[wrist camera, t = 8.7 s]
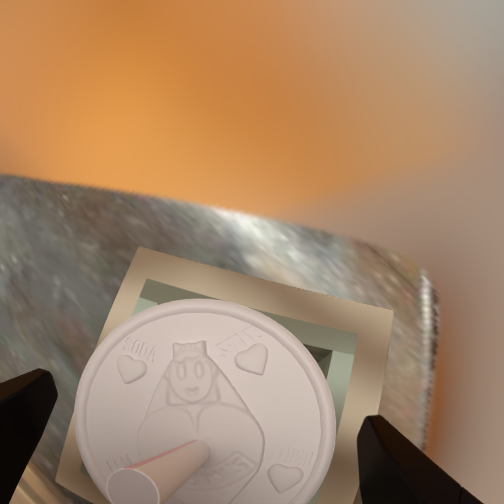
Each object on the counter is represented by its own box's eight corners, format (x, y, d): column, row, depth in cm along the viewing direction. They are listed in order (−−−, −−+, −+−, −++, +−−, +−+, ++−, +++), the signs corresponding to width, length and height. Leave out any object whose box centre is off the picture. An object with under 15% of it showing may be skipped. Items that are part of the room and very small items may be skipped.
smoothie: (172, 479, 13) (-21, 589, 1) (159, 365, 16) (-32, 212, 4) (297, 468, 13) (451, 601, 1) (279, 353, 17) (363, 153, 4)
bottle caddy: (324, 561, 11) (344, 594, 7) (63, 479, 13) (20, 487, 9) (387, 316, 18) (419, 287, 15) (143, 253, 20) (121, 214, 16)
